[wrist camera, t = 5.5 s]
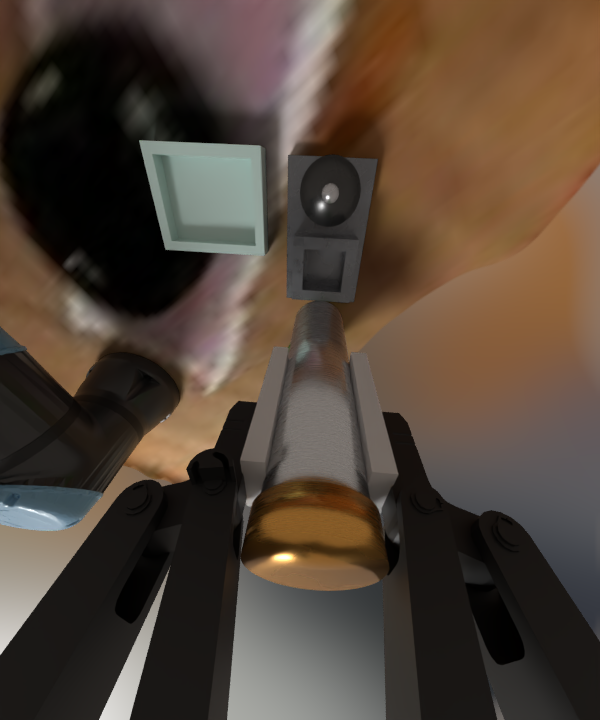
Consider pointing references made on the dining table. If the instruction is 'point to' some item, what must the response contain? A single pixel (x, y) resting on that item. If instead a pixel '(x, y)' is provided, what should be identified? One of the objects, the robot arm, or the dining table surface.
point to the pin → (316, 473)
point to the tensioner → (327, 225)
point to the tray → (209, 196)
